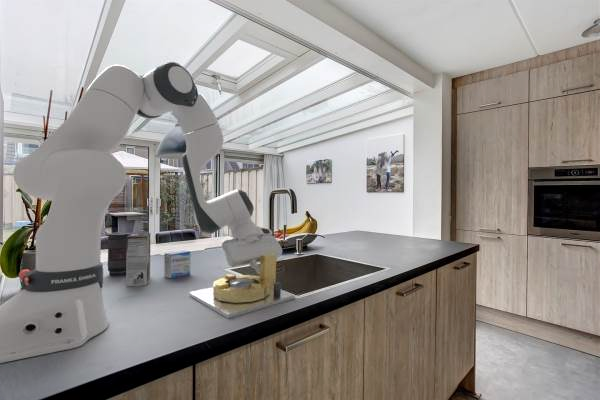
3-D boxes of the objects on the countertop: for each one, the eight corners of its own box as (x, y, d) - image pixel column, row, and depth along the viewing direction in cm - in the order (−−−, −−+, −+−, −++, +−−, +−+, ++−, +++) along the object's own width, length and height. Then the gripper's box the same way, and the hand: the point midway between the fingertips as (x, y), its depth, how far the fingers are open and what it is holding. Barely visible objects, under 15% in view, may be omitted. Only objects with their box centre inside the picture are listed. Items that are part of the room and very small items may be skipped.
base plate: (227, 318, 74) (227, 300, 74) (189, 295, 90) (189, 280, 90) (294, 298, 89) (295, 283, 89) (251, 281, 105) (251, 268, 105)
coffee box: (130, 279, 106) (130, 232, 105) (150, 277, 108) (151, 232, 108) (125, 287, 97) (125, 236, 97) (147, 285, 99) (148, 235, 99)
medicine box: (170, 279, 107) (170, 254, 107) (163, 276, 110) (164, 252, 109) (190, 274, 113) (190, 251, 113) (183, 272, 116) (184, 249, 116)
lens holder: (212, 304, 80) (212, 266, 80) (214, 286, 95) (215, 254, 95) (282, 299, 84) (283, 263, 84) (274, 282, 100) (274, 252, 100)
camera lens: (137, 271, 116) (138, 232, 115) (123, 277, 108) (123, 235, 107) (117, 271, 116) (117, 231, 116) (101, 276, 108) (102, 234, 108)
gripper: (223, 234, 95) (241, 272, 88) (274, 229, 109) (292, 261, 103) (216, 246, 98) (232, 284, 92) (266, 239, 113) (283, 271, 106)
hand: (264, 272), depth 97 cm, fingers closed on lens holder
